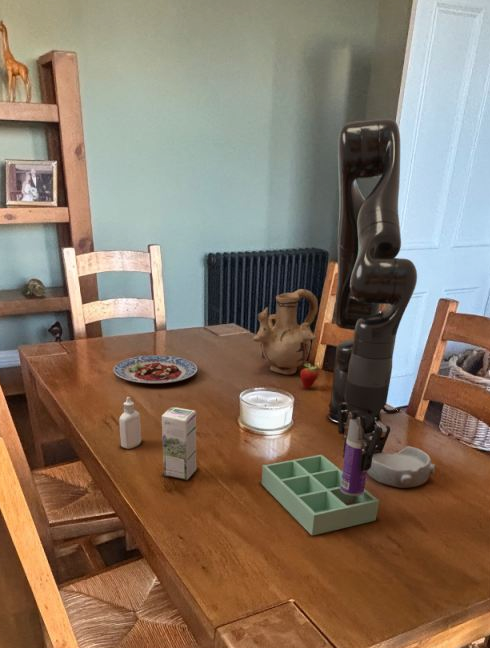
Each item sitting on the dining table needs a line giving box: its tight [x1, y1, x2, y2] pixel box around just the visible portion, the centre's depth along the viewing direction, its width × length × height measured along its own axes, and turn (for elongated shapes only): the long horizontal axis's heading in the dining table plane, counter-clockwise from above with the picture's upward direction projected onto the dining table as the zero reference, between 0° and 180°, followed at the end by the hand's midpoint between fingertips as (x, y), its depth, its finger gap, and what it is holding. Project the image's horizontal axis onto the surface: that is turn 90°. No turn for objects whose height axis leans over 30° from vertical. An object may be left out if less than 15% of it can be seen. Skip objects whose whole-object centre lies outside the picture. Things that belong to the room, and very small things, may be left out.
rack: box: [261, 454, 380, 536], centre depth 126 cm, size 15×22×5 cm
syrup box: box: [161, 406, 198, 481], centre depth 132 cm, size 6×6×14 cm
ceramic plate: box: [113, 354, 198, 385], centre depth 190 cm, size 26×26×3 cm
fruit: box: [300, 362, 319, 390], centre depth 182 cm, size 5×5×8 cm
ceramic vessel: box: [252, 288, 319, 376], centre depth 191 cm, size 18×19×25 cm
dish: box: [367, 445, 436, 489], centre depth 137 cm, size 14×14×5 cm
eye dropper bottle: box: [118, 396, 143, 450], centre depth 144 cm, size 4×6×12 cm
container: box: [340, 418, 372, 496], centre depth 116 cm, size 5×5×15 cm
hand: (356, 463), depth 117 cm, fingers closed on container, 4 cm apart
